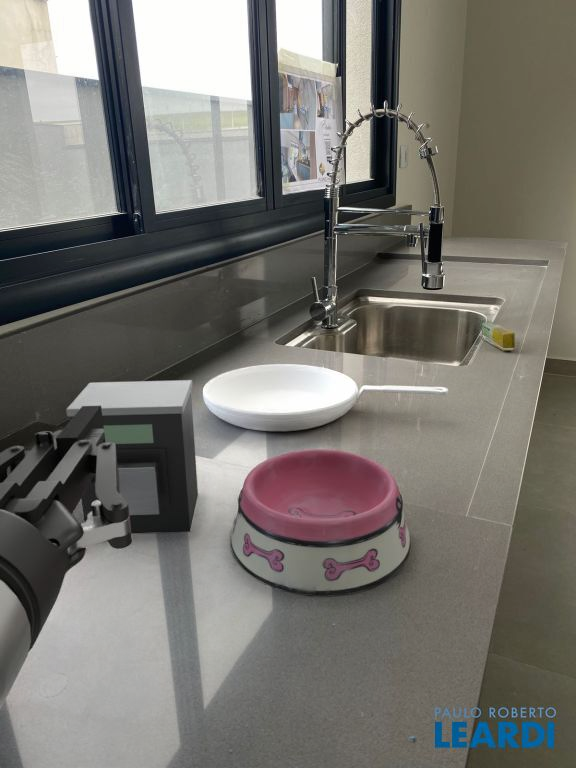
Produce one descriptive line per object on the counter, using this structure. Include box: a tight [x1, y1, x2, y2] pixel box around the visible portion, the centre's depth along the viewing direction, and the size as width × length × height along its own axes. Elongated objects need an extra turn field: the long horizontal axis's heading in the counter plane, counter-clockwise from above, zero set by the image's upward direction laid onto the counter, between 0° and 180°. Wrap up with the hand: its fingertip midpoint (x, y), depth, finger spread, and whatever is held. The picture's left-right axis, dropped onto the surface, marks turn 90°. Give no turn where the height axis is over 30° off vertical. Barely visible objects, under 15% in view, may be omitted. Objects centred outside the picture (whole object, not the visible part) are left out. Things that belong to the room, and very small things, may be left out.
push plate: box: [118, 462, 161, 515], centre depth 60 cm, size 1×6×5 cm, turn 92°
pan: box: [202, 363, 449, 432], centre depth 97 cm, size 25×39×4 cm, turn 82°
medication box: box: [481, 321, 516, 352], centre depth 134 cm, size 12×3×4 cm, turn 5°
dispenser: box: [65, 379, 199, 535], centre depth 66 cm, size 8×11×14 cm
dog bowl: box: [229, 448, 412, 596], centre depth 62 cm, size 18×19×7 cm
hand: (93, 421), depth 49 cm, fingers closed
